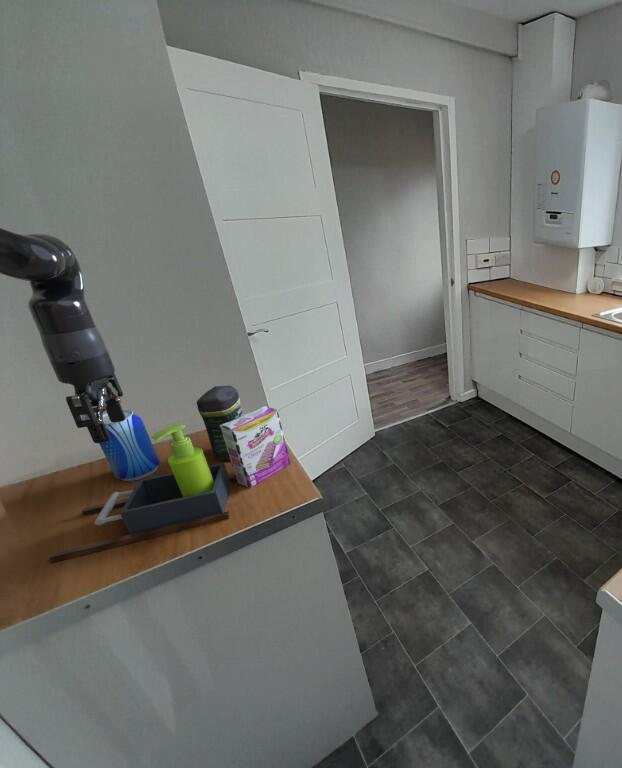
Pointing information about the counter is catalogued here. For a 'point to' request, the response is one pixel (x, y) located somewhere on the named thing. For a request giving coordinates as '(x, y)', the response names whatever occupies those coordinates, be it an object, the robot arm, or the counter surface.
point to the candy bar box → (256, 446)
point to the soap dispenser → (187, 463)
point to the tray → (167, 502)
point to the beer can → (129, 448)
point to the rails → (136, 536)
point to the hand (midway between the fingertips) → (111, 431)
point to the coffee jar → (219, 416)
